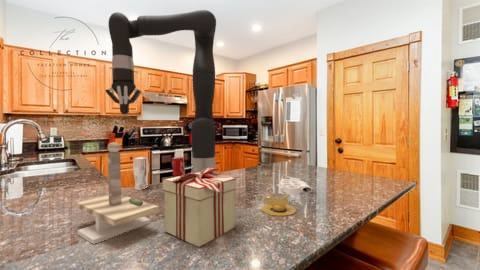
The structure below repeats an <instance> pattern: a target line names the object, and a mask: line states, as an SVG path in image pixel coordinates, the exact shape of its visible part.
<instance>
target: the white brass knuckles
mask: <svg viewBox="0 0 480 270" xmlns="http://www.w3.org/2000/svg"><path fill="white" fill-rule="evenodd" d="M276 187H279V188H278V189H279V190H280V192H282V193H285V194H287V195H288V196H290V195H291V196H296V195H300V194H301V193H305V194H307V193H312V192H313V188H312V187H311V186H310V185H309V184H308V183H306V182H305V181H304V180H299V179H298V180H295V179H291V178H290V179H289V178H282V179H280V181H279V183H278V184H276Z"/></svg>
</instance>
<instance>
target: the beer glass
mask: <svg viewBox="0 0 480 270" xmlns="http://www.w3.org/2000/svg"><path fill="white" fill-rule="evenodd" d="M149 166H150V163H149V157H148V156H147V157H146V156H140V157H139V156H138V157H133V163H132V172H133V176H134V180H135V182H134V190H136V191H142V190H141V189H145V188H147V187H148V188H149V185H148V176H149V175H148V174H149V168H150V167H149ZM146 185H148V186H146ZM145 190H146V189H145Z"/></svg>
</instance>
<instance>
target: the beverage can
mask: <svg viewBox="0 0 480 270" xmlns="http://www.w3.org/2000/svg"><path fill="white" fill-rule="evenodd" d="M171 167H172V178H174V177H178V176H183V175H186V169H185V159H184V156H183V157H182V156H178V157H172V160H171Z"/></svg>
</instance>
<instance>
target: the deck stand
mask: <svg viewBox="0 0 480 270" xmlns="http://www.w3.org/2000/svg"><path fill="white" fill-rule="evenodd" d="M94 217H95V216H94ZM94 220H95V224H93V225H89V226H86V227H83V228H80V229H77V235H78V236H79V237H81V238H82V239H84V240H85V241H87V242H89V243H90V242H91V244H92V243H93V244H92V245H96V244H95V243H97V244H99V243H101V241H102V242H105V241H107V240H109V238H110V239H113V238H114V236H115V237H118V236H119V234H120V235H123V234H125V233H124V232H126V233H128V232H130V231H129V230H131V231H133V230H132V229H134V230H136V229H139V228H141V227H144V226H147V225H148V224H151V219H150V218H148V217H147V216H143V217H141V218H138V219H135V220H132V221H129V222H126V223H123V224H120V225H117V226H113V225H111V224H109V223H107V222H105V221H103V220H101V219H99V218H97V217H95V219H94ZM127 231H128V232H127ZM122 233H123V234H122ZM117 235H118V236H117ZM112 237H113V238H112ZM104 240H105V241H104ZM98 242H99V243H98Z"/></svg>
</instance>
